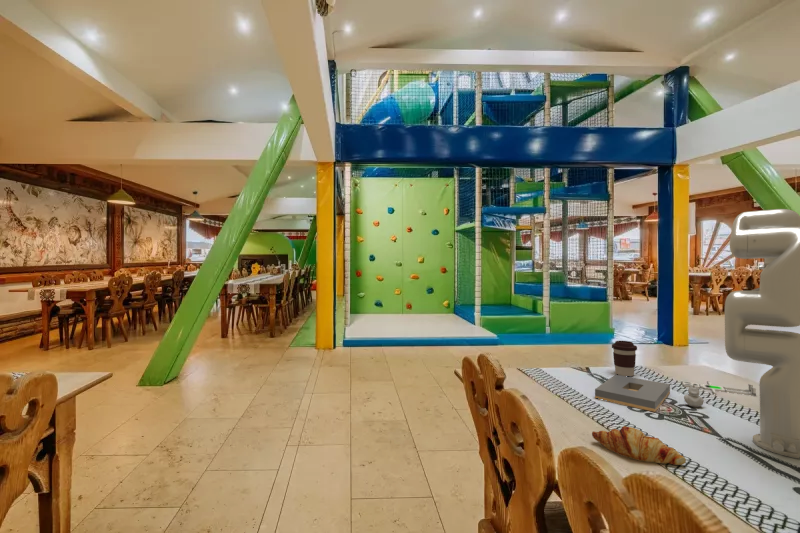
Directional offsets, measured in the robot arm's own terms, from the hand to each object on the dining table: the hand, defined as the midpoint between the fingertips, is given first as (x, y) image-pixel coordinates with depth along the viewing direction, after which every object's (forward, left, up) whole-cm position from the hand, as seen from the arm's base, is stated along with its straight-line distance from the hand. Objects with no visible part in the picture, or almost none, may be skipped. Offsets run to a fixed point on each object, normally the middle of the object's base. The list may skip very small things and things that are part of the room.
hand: (779, 316), depth 133 cm
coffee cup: (+3, +50, -31) cm, 59 cm away
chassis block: (-26, +40, -31) cm, 57 cm away
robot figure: (+5, +18, -32) cm, 37 cm away
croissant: (-76, +28, -32) cm, 87 cm away
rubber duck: (-23, +22, -31) cm, 45 cm away
